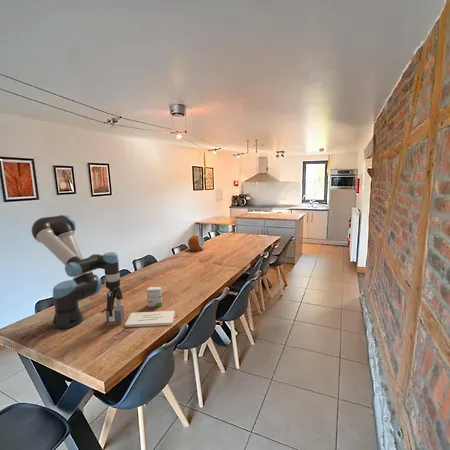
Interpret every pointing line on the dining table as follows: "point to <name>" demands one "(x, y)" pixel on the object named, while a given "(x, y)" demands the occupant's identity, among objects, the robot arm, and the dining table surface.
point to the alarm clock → (196, 243)
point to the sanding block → (116, 315)
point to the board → (150, 319)
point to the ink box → (154, 296)
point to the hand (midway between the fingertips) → (115, 315)
